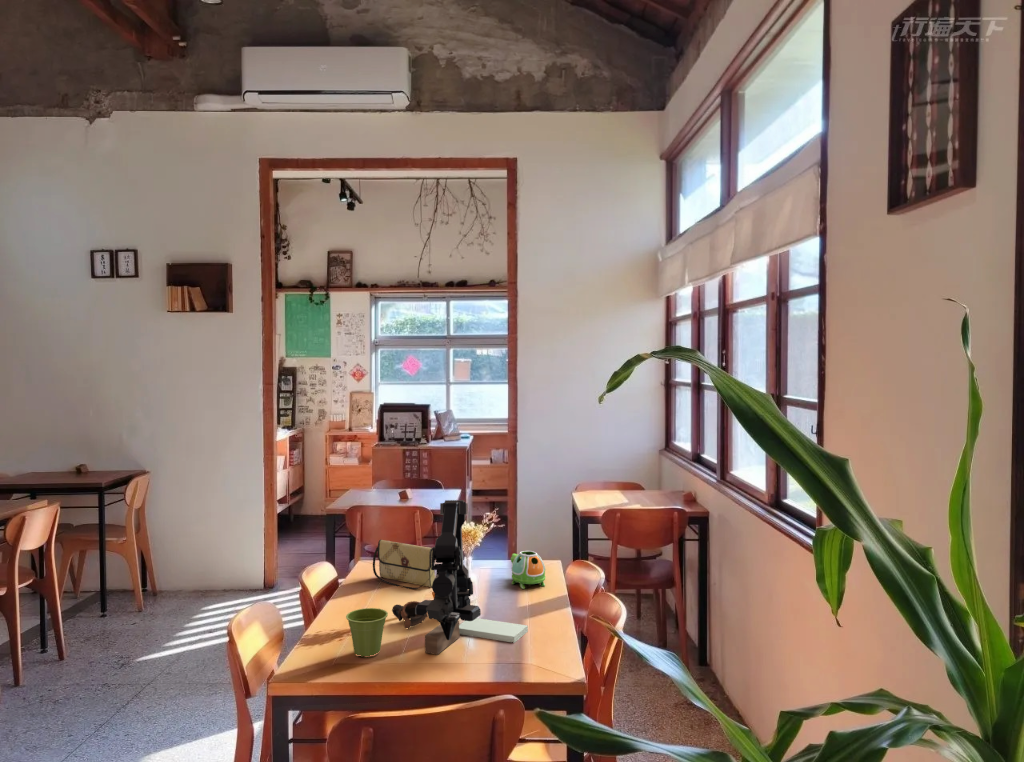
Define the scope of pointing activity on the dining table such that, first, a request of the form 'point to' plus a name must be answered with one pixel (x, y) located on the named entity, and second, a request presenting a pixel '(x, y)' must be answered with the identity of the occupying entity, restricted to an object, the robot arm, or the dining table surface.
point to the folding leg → (439, 639)
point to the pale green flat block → (493, 630)
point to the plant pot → (367, 630)
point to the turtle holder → (527, 568)
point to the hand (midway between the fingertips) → (448, 639)
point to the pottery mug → (408, 614)
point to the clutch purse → (404, 563)
